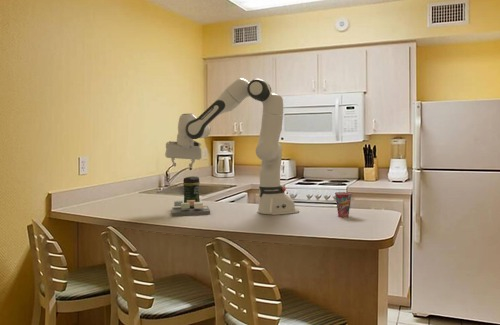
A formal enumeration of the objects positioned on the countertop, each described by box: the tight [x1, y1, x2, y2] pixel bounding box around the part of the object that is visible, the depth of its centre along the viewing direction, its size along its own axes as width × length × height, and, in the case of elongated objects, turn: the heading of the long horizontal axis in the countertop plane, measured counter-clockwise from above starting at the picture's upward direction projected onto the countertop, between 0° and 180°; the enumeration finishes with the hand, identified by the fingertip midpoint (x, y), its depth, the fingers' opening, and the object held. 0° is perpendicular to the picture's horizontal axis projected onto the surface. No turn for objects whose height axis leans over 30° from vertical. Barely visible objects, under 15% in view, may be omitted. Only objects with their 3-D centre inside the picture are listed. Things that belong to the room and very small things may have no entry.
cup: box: [334, 191, 355, 219], centre depth 223 cm, size 9×8×12 cm
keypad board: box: [171, 205, 211, 217], centre depth 244 cm, size 20×18×2 cm
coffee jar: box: [182, 175, 201, 207], centre depth 259 cm, size 10×8×19 cm
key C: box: [187, 200, 195, 206], centre depth 248 cm, size 4×4×2 cm
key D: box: [173, 200, 184, 207], centre depth 247 cm, size 4×4×2 cm
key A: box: [194, 201, 204, 208], centre depth 240 cm, size 4×4×2 cm
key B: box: [180, 202, 190, 209], centre depth 239 cm, size 4×4×2 cm
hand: (182, 166), depth 249 cm, fingers open, 8 cm apart
